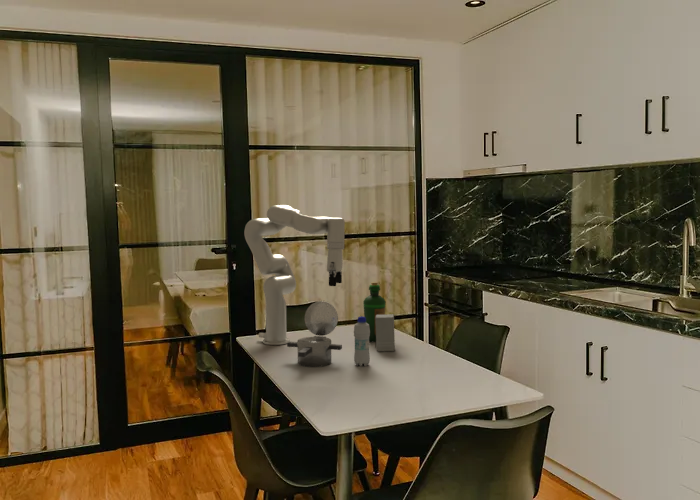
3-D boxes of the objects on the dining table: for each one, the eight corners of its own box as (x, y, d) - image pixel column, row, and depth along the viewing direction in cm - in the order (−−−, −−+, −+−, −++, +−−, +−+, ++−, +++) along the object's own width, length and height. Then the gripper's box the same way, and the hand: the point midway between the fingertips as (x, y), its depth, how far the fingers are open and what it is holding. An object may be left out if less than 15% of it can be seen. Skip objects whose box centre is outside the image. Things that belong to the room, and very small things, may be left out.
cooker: (273, 370, 240) (273, 347, 239) (295, 355, 263) (295, 334, 263) (329, 374, 234) (329, 351, 233) (346, 359, 257) (346, 337, 257)
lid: (305, 300, 262) (307, 300, 265) (303, 334, 261) (306, 334, 264) (338, 301, 259) (339, 302, 262) (336, 336, 257) (338, 336, 260)
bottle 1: (368, 367, 244) (368, 318, 243) (352, 366, 246) (352, 317, 244) (371, 363, 251) (371, 315, 249) (355, 362, 252) (355, 314, 251)
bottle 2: (386, 342, 288) (386, 283, 285) (363, 342, 288) (363, 283, 286) (385, 337, 298) (385, 280, 296) (363, 337, 298) (363, 280, 296)
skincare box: (394, 348, 276) (394, 313, 275) (394, 352, 269) (394, 316, 268) (376, 348, 277) (376, 313, 276) (375, 351, 270) (375, 316, 269)
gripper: (332, 244, 277) (332, 281, 278) (322, 247, 260) (321, 286, 262) (348, 244, 275) (348, 282, 277) (339, 247, 258) (338, 287, 260)
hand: (335, 284), depth 269 cm, fingers open, 9 cm apart
